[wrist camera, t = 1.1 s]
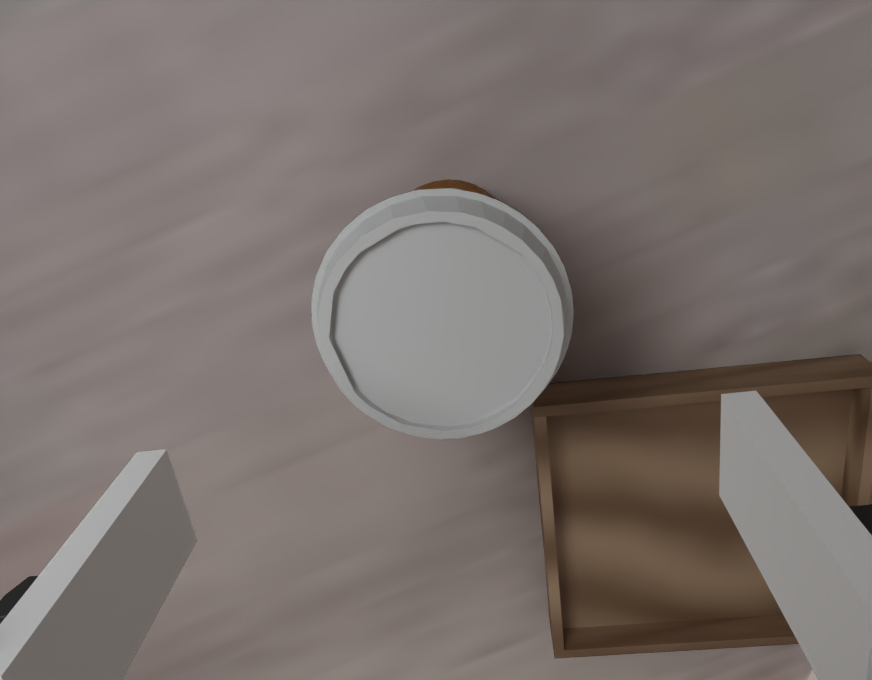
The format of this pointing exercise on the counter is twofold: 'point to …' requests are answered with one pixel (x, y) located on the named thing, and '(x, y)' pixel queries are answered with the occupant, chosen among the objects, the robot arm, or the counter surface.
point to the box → (676, 501)
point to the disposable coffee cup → (442, 311)
